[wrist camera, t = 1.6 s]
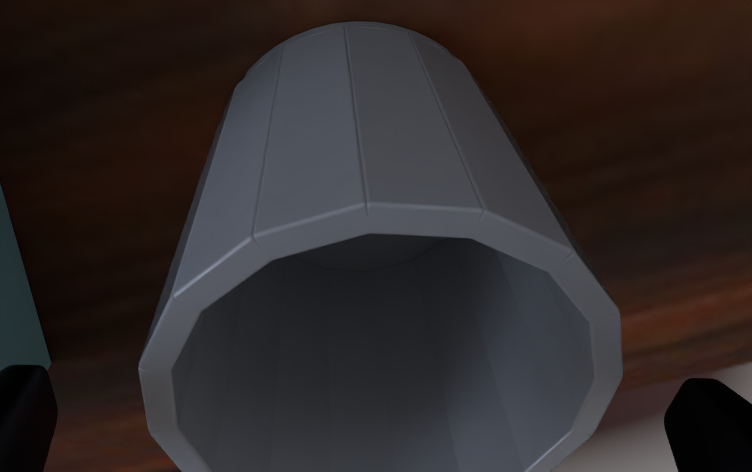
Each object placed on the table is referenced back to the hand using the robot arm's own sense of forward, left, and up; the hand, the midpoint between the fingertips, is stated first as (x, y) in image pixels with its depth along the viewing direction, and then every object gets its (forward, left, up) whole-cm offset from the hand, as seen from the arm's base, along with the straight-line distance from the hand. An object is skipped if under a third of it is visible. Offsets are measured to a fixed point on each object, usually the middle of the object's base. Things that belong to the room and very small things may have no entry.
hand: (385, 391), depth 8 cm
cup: (0, 0, -7) cm, 7 cm away
